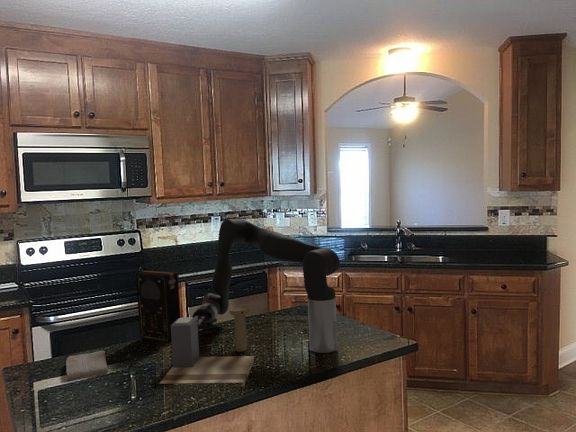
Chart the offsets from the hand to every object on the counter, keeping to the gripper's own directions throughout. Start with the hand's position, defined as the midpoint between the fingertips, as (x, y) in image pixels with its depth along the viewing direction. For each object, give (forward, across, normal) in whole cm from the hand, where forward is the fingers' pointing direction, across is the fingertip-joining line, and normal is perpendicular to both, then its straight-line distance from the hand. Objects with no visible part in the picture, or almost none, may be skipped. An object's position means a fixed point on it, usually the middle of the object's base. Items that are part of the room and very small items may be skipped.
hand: (192, 330), depth 161 cm
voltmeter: (-18, -17, +9) cm, 26 cm away
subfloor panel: (+15, +9, +8) cm, 19 cm away
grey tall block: (+10, 0, +7) cm, 12 cm away
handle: (-1, +16, +8) cm, 18 cm away
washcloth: (+9, -32, +9) cm, 35 cm away
